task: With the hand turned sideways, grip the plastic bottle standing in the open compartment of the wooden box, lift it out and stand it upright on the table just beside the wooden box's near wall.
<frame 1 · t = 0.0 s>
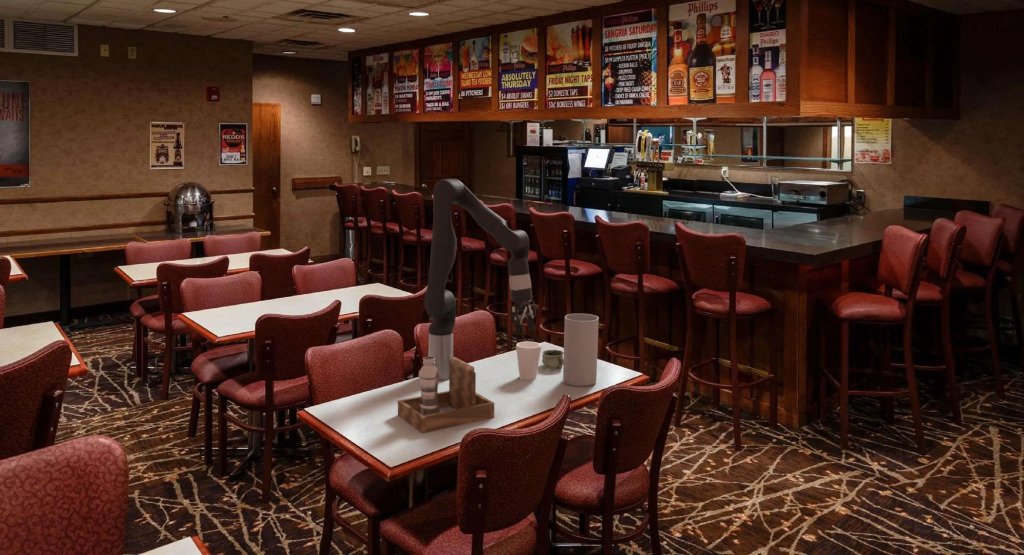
hand: (525, 332, 266), 22 cm above the table, tool pointing down, fingers open, 8 cm apart
cylinder vase: (579, 382, 283), on the table
plastic bottle: (429, 417, 245), resting in wooden box
vessel: (552, 368, 300), on the table
wooden box: (445, 416, 246), on the table
foam cup: (528, 378, 287), on the table
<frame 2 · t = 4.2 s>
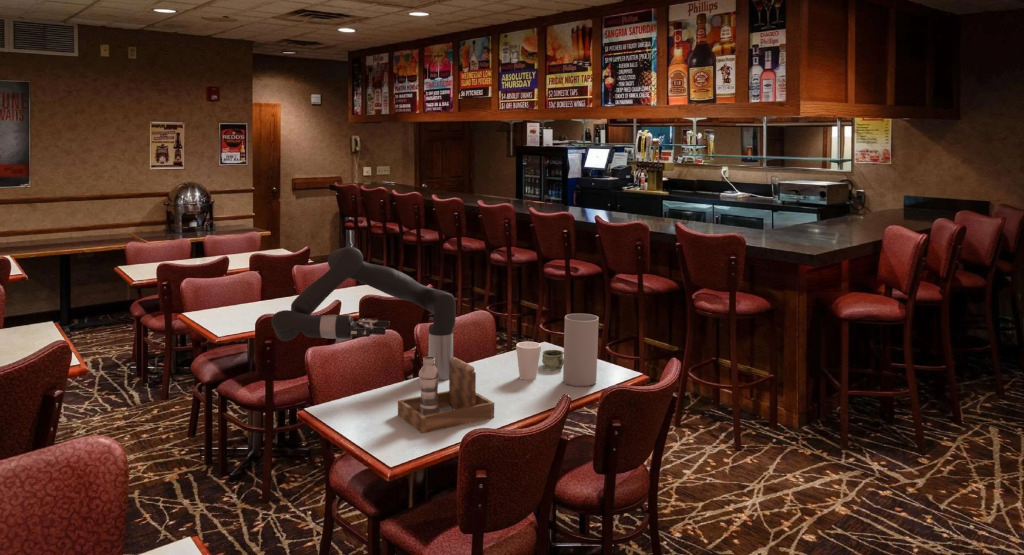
hand: (387, 327, 239), 30 cm above the table, tool horizontal, fingers open, 8 cm apart
nothing on the table moved.
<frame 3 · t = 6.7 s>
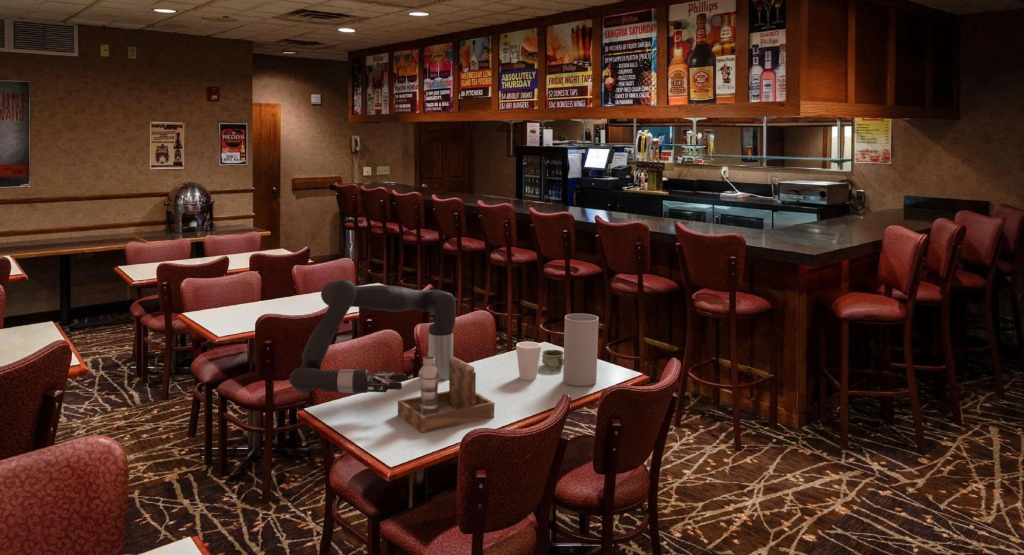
hand: (403, 381, 243), 12 cm above the table, tool horizontal, fingers open, 8 cm apart
nothing on the table moved.
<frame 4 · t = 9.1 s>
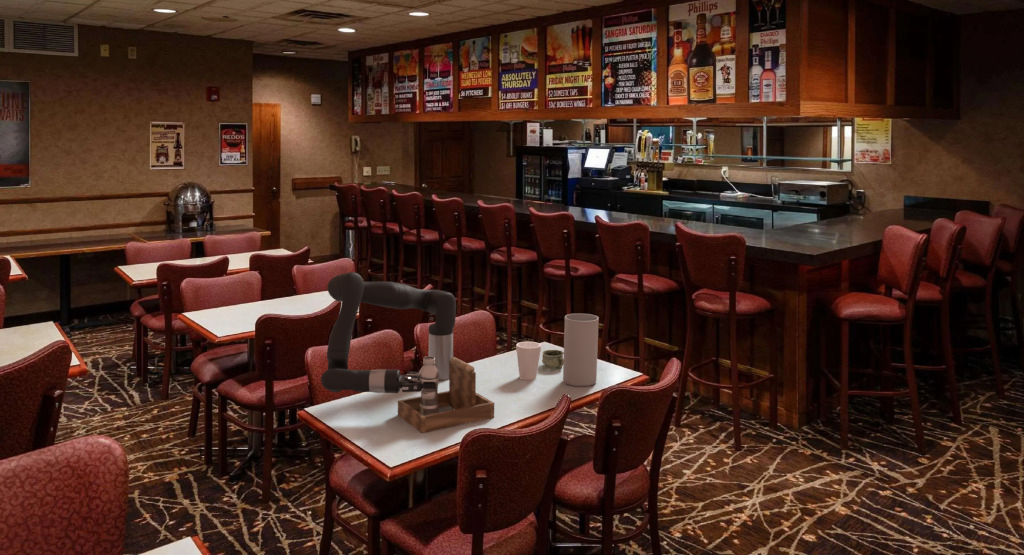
hand: (436, 381, 243), 12 cm above the table, tool horizontal, fingers closed on plastic bottle, 6 cm apart
plastic bottle: (429, 417, 245), resting in wooden box, touching gripper
everything else where it was.
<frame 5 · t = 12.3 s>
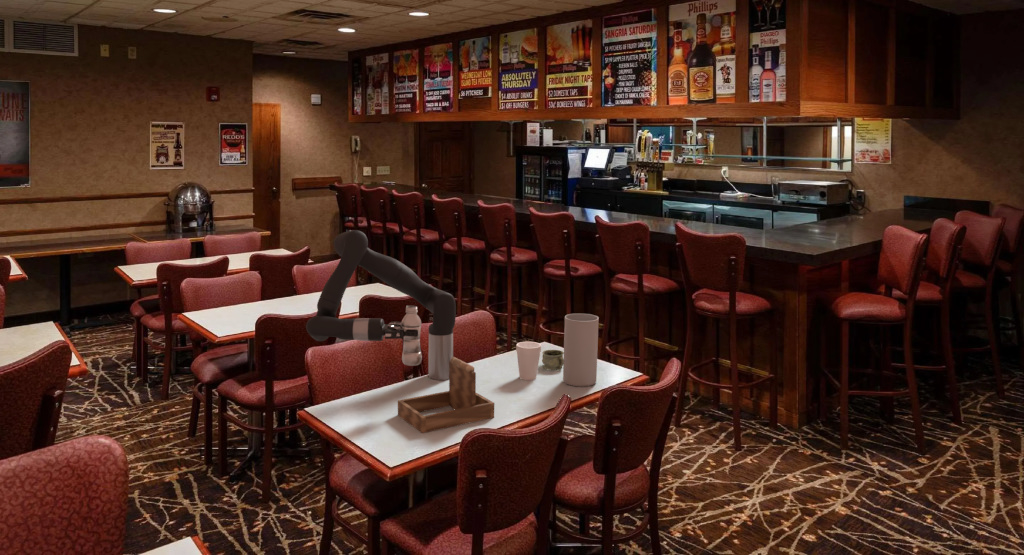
hand: (419, 330, 249), 27 cm above the table, tool horizontal, fingers closed on plastic bottle, 6 cm apart
plastic bottle: (411, 365, 251), point 14 cm above the table, touching gripper
everything else where it was.
when the fingers open (13 cm above the table, at t = 15.8 s): plastic bottle drops 1 cm, on the table.
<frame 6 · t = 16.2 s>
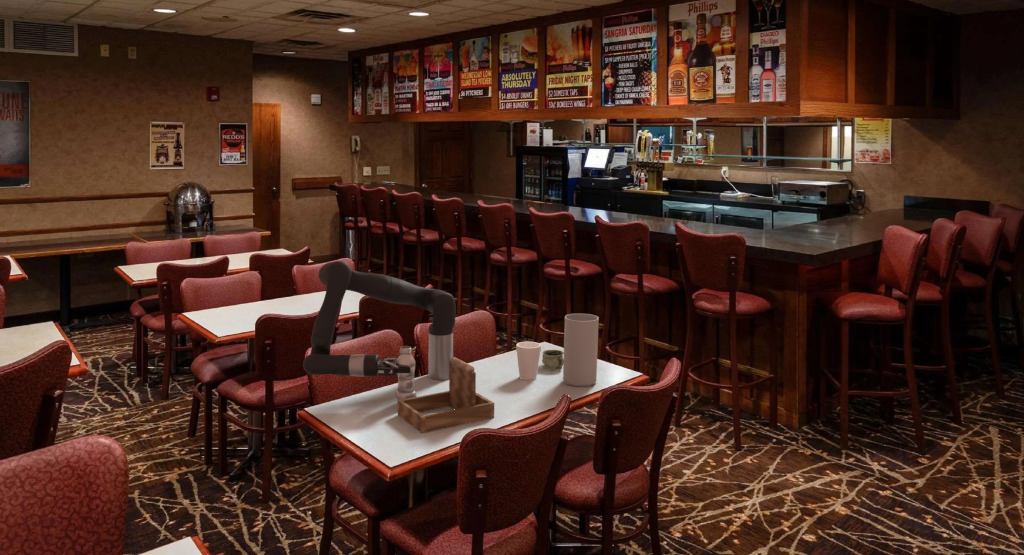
hand: (412, 366, 254), 14 cm above the table, tool horizontal, fingers open, 8 cm apart
plastic bottle: (406, 404, 257), on the table
everything else where it was.
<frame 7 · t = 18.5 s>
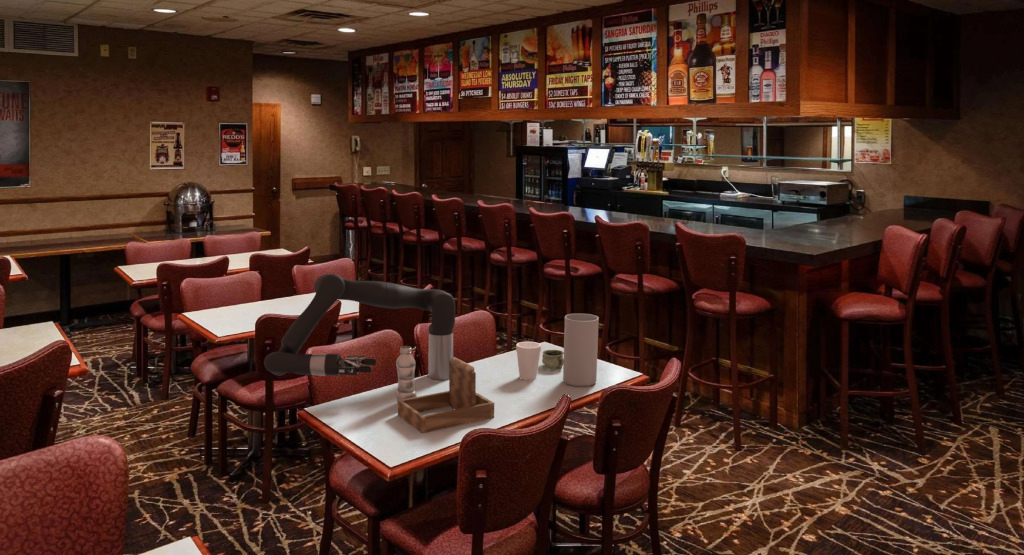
hand: (373, 365, 254), 14 cm above the table, tool horizontal, fingers open, 8 cm apart
nothing on the table moved.
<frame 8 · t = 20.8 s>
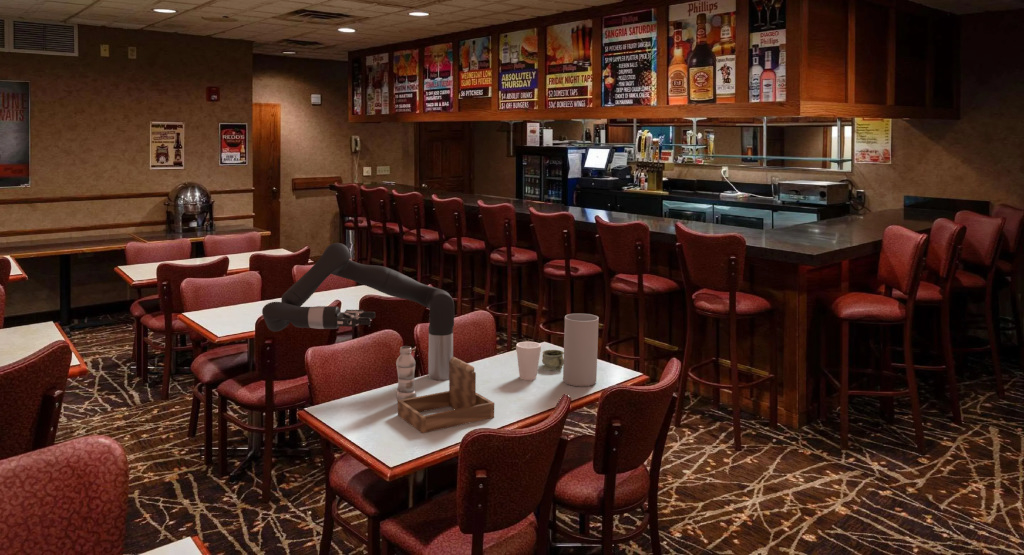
hand: (372, 318, 251), 30 cm above the table, tool horizontal, fingers open, 8 cm apart
nothing on the table moved.
at the end: plastic bottle inside the target area (0.4 cm from its centre), on the table; plastic bottle tilted 0°; the gripper is holding nothing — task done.
